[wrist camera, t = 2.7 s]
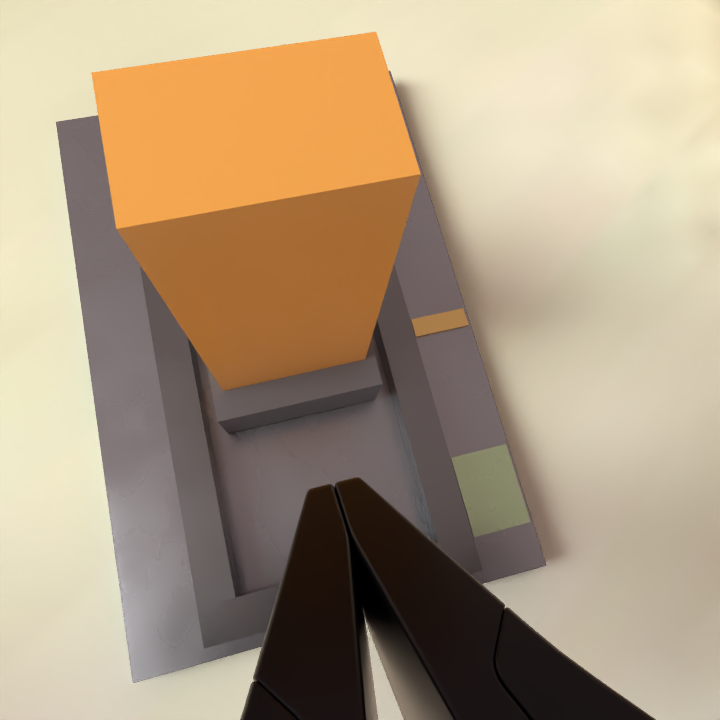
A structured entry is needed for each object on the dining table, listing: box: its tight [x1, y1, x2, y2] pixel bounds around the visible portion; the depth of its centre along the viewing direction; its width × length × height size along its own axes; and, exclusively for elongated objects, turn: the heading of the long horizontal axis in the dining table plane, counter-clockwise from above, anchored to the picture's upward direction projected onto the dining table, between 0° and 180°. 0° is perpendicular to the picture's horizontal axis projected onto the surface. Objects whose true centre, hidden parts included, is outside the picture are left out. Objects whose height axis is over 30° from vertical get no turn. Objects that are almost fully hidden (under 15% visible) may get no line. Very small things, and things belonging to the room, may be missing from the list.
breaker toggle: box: [92, 32, 421, 433], centre depth 13 cm, size 4×5×11 cm
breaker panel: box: [56, 71, 546, 683], centre depth 19 cm, size 18×12×2 cm, turn 14°
